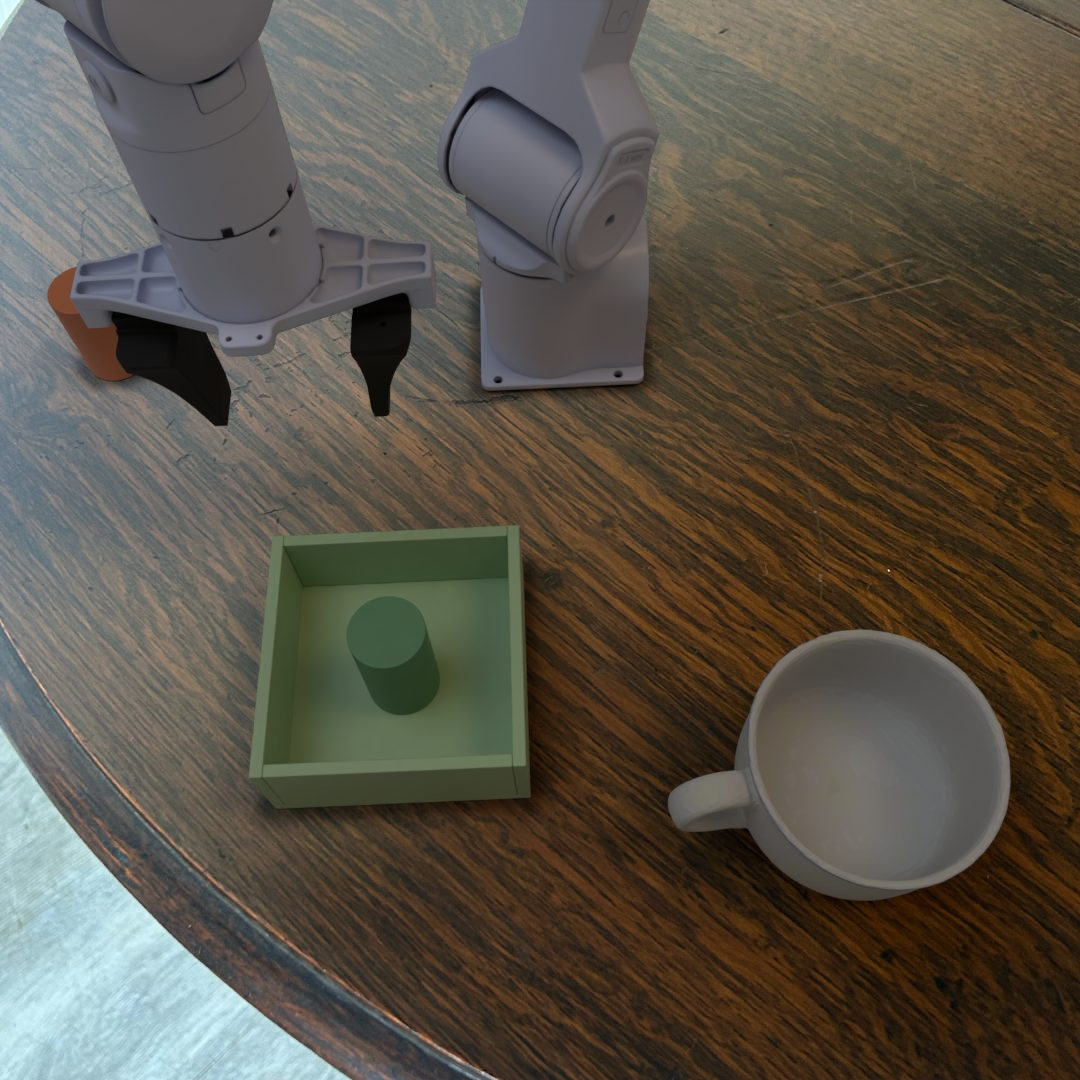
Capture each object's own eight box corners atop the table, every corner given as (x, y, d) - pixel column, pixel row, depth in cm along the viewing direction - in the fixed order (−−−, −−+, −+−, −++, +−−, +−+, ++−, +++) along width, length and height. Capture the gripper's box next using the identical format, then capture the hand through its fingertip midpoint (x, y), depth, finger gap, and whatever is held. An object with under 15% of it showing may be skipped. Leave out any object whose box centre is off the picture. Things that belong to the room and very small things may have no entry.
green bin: (523, 571, 57) (519, 524, 53) (530, 798, 51) (526, 765, 47) (294, 582, 58) (271, 535, 53) (275, 809, 52) (247, 778, 47)
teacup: (928, 690, 54) (980, 622, 47) (979, 918, 48) (1047, 880, 41) (647, 702, 54) (657, 636, 47) (667, 931, 48) (682, 895, 41)
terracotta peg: (152, 332, 66) (116, 263, 61) (144, 379, 65) (106, 312, 59) (94, 335, 66) (53, 266, 61) (84, 382, 65) (41, 315, 59)
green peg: (409, 634, 55) (392, 581, 50) (454, 683, 54) (441, 633, 49) (353, 679, 54) (330, 629, 49) (398, 729, 53) (378, 684, 48)
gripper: (3, 277, 38) (140, 483, 50) (415, 253, 38) (454, 465, 50) (38, 138, 41) (159, 362, 53) (417, 116, 41) (453, 345, 53)
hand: (302, 404), depth 52 cm, fingers open, 7 cm apart
